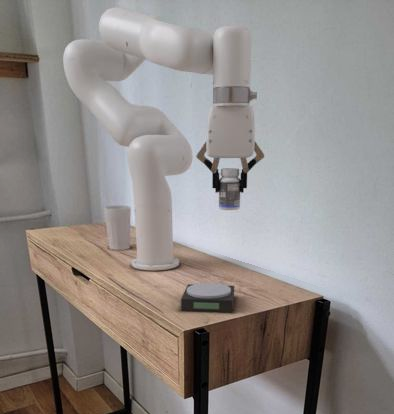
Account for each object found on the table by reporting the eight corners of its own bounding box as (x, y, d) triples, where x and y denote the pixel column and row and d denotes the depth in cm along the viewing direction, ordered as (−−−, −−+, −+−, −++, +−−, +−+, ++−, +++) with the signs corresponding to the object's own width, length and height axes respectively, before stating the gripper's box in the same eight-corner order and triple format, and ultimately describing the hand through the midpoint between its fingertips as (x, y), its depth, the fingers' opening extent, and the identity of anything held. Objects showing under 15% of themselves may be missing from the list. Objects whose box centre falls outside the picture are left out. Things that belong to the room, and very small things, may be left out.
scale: (187, 295, 105) (187, 281, 103) (234, 296, 104) (234, 282, 102) (181, 311, 95) (180, 296, 94) (231, 312, 94) (232, 297, 93)
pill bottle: (215, 207, 109) (216, 168, 106) (235, 206, 110) (236, 167, 107) (222, 210, 105) (223, 169, 102) (243, 209, 106) (244, 169, 103)
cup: (101, 247, 148) (98, 207, 143) (122, 243, 153) (120, 204, 148) (117, 251, 143) (114, 209, 138) (138, 247, 148) (136, 207, 143)
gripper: (271, 99, 102) (267, 190, 109) (191, 100, 103) (192, 190, 110) (274, 96, 95) (269, 193, 102) (188, 98, 96) (189, 193, 104)
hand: (229, 191), depth 106 cm, fingers closed on pill bottle, 4 cm apart
